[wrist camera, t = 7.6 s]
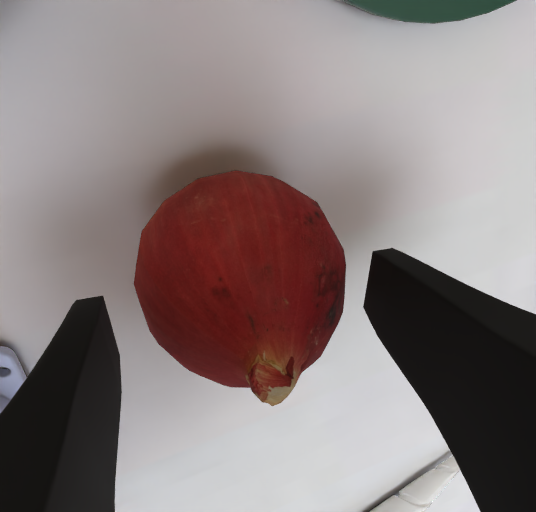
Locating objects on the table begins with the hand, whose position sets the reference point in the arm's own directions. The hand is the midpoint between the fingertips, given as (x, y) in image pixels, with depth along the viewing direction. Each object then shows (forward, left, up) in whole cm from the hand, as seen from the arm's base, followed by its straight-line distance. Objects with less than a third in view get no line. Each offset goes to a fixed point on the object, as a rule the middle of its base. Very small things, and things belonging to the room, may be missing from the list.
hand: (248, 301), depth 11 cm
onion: (0, 0, -5) cm, 5 cm away
